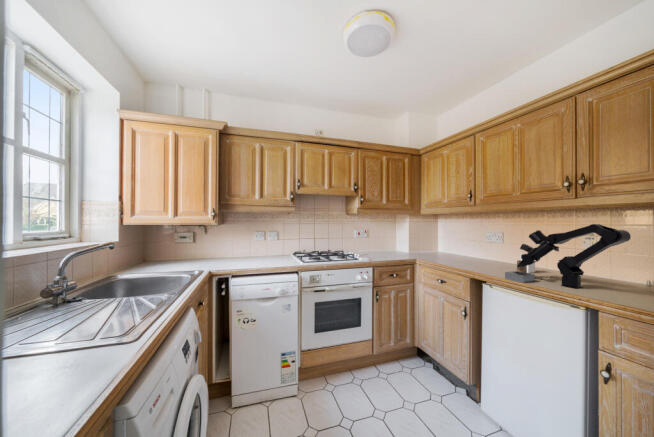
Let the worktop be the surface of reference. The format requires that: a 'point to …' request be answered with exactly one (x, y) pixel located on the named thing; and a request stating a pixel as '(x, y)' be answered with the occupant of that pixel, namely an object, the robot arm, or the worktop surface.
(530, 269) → the medicine bottle
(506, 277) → the well block
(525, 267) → the brown tall square block
